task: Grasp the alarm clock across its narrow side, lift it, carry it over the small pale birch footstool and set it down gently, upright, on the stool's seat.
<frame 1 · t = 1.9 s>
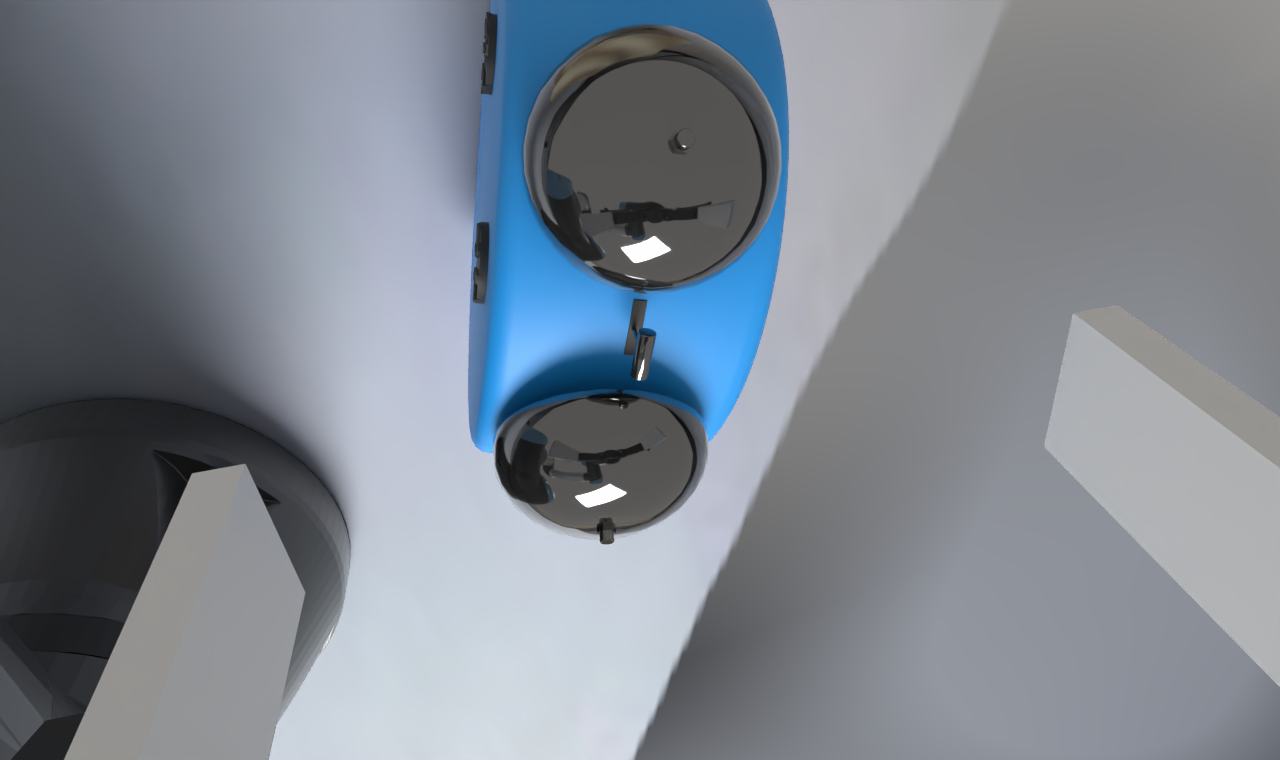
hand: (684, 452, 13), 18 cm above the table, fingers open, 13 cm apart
alarm clock: (563, 140, 28), on the table
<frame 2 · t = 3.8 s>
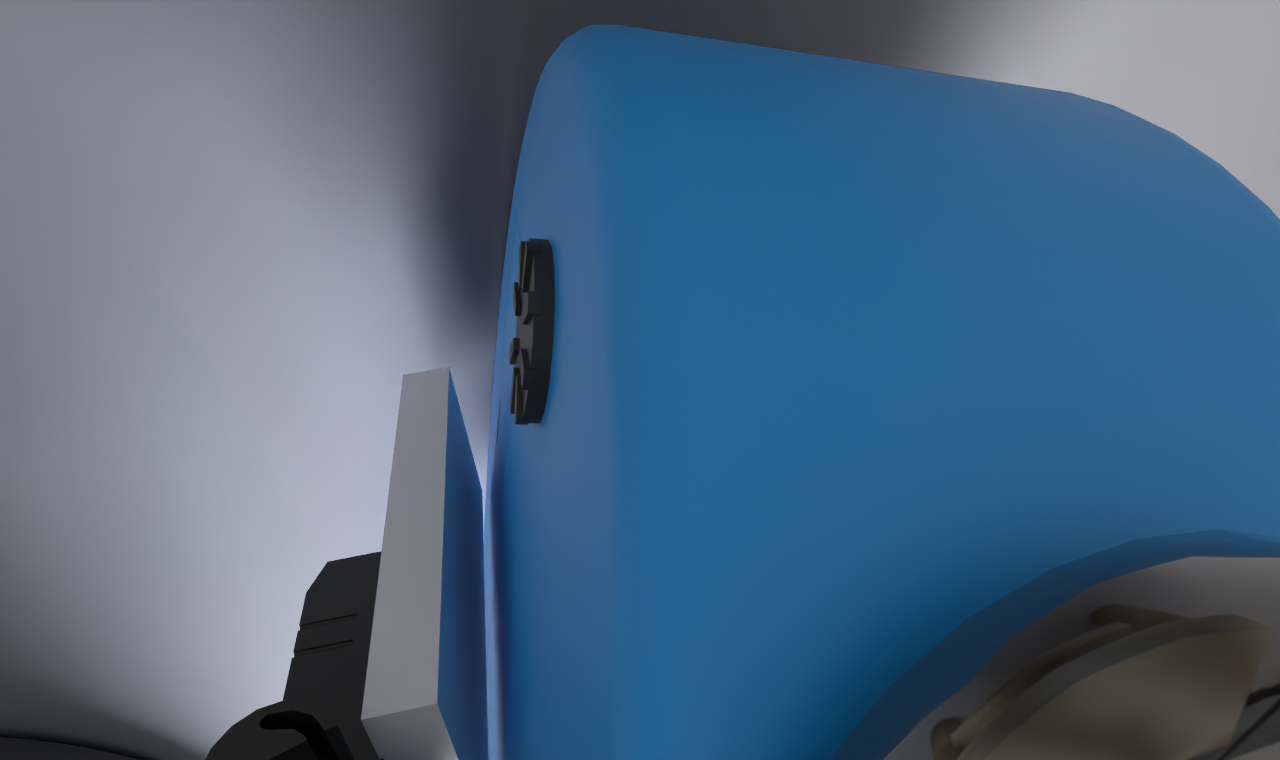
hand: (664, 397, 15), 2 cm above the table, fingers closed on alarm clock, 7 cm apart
alarm clock: (638, 335, 17), on the table, touching gripper
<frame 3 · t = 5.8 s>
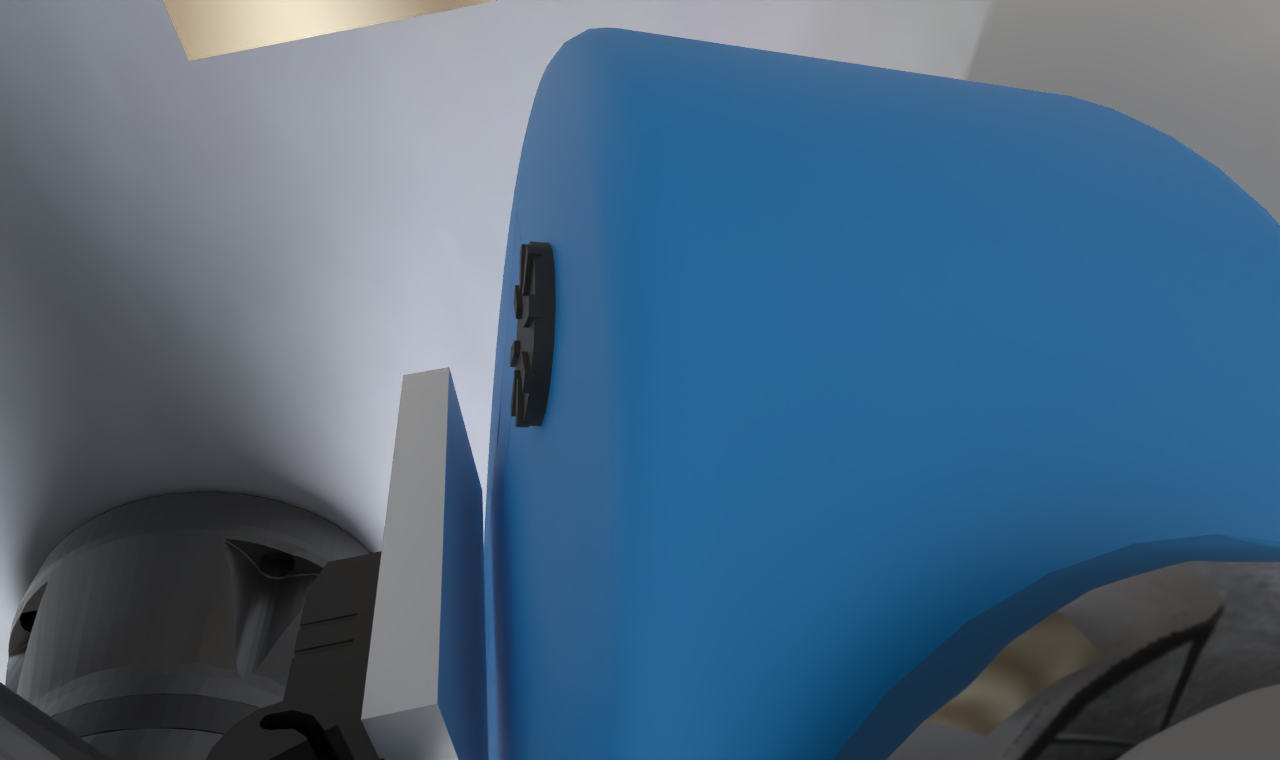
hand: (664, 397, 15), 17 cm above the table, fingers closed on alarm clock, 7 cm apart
alarm clock: (638, 336, 17), point 15 cm above the table, touching gripper
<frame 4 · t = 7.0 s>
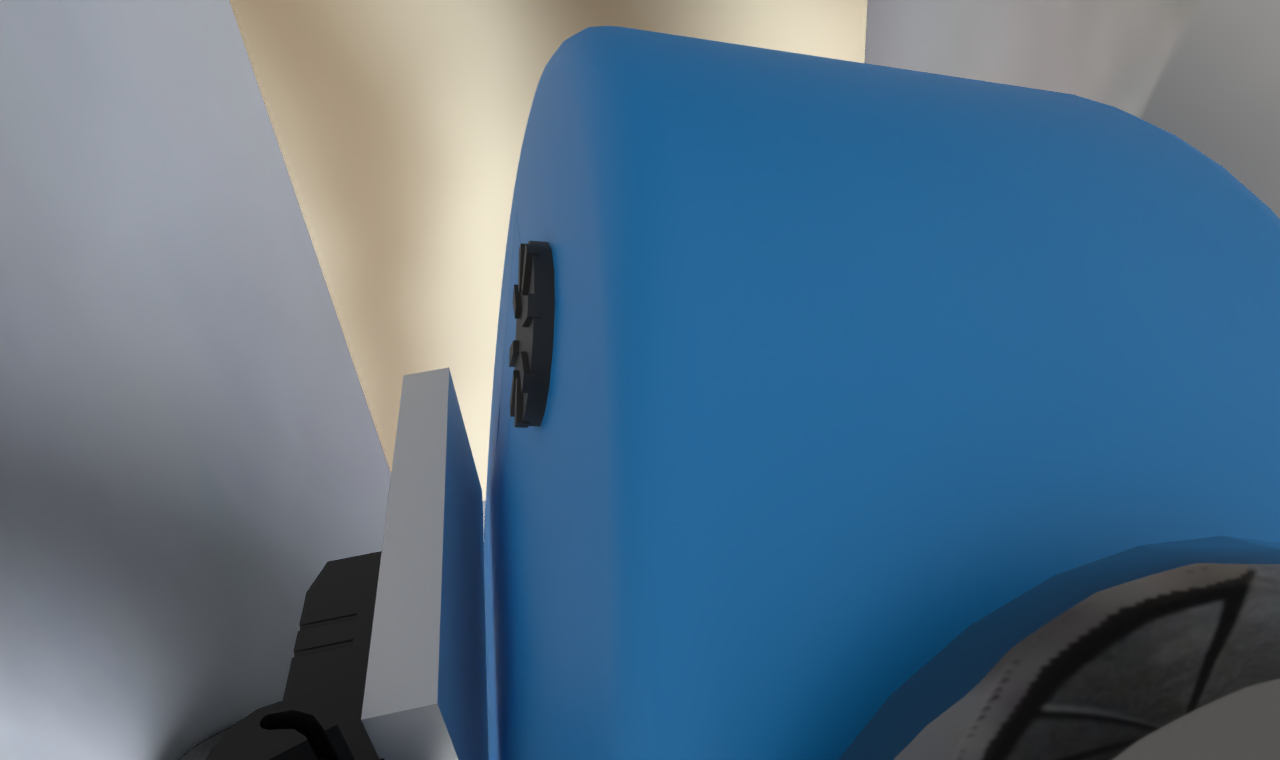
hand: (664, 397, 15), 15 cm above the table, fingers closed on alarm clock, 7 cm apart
alarm clock: (638, 336, 17), point 13 cm above the table, touching gripper
stool: (569, 148, 28), on the table
when the fingers open (11 cm above the table, at t = 8.0 s): alarm clock drops 1 cm, resting on stool.
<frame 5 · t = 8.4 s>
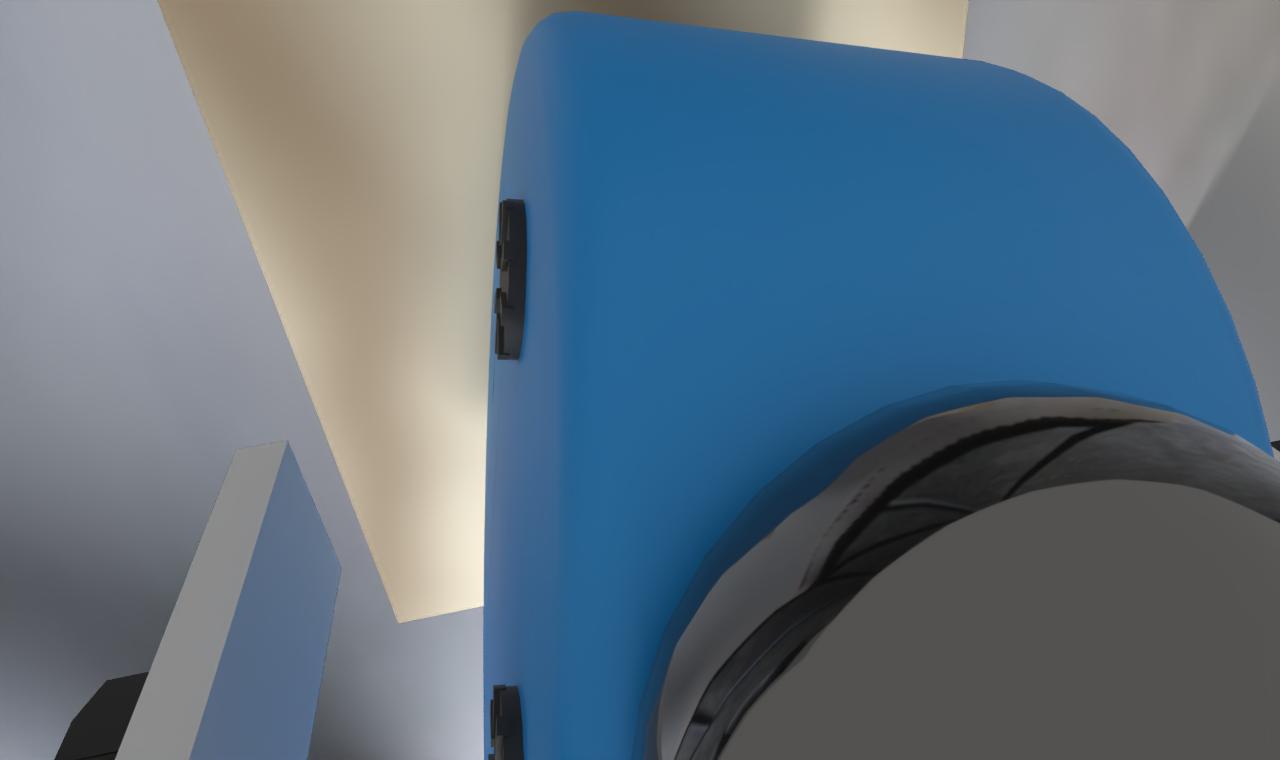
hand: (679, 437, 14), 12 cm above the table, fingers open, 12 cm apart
alarm clock: (624, 305, 18), point 7 cm above the table, touching stool
stool: (588, 189, 24), on the table
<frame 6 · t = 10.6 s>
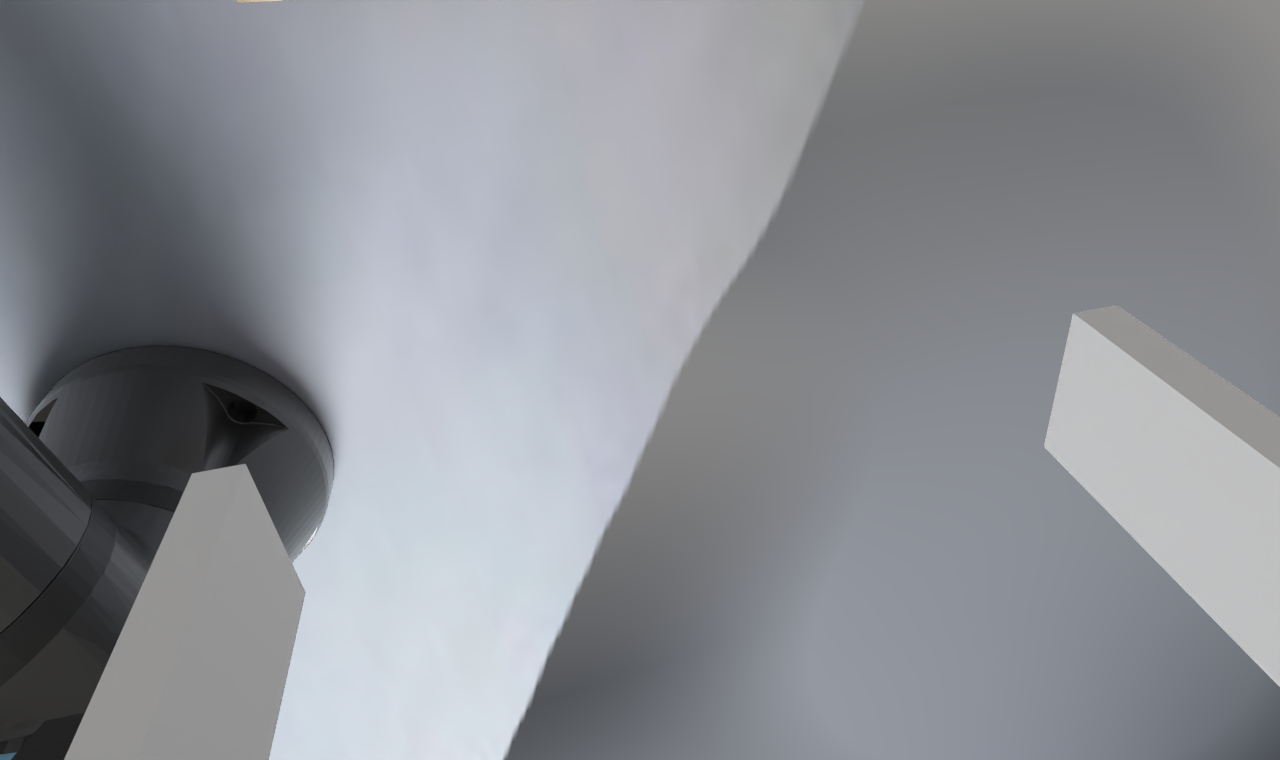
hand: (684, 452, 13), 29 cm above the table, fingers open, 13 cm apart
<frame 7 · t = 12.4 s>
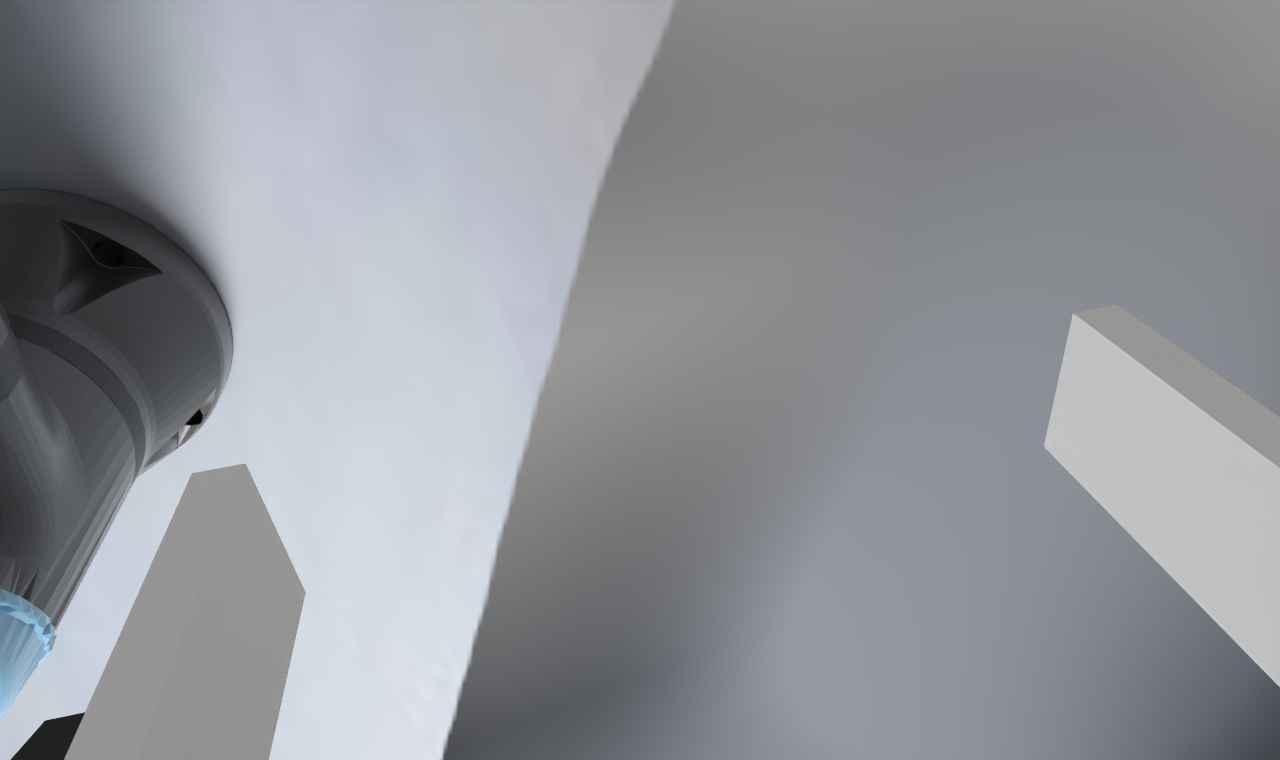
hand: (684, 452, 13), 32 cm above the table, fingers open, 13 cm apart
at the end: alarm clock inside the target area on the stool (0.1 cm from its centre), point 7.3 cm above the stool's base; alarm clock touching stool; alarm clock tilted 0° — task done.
